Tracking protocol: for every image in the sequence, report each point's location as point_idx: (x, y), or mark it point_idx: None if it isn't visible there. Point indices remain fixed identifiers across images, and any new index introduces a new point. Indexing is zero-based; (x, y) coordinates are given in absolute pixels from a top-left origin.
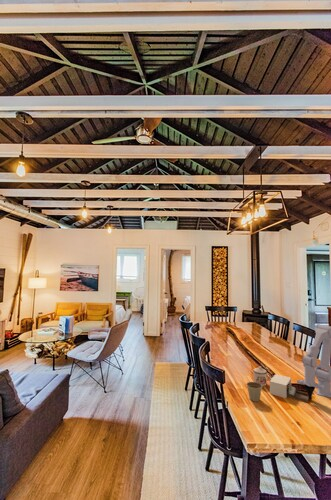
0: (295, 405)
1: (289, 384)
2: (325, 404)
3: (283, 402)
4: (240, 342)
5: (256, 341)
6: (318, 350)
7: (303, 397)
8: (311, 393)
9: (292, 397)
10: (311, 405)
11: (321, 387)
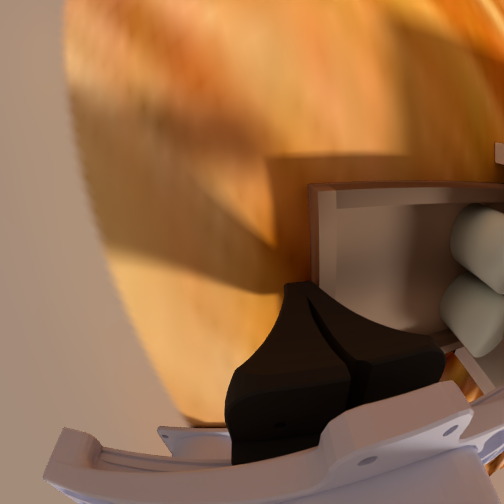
0: (398, 20)
1: (493, 370)
2: (130, 297)
3: (483, 41)
4: (489, 471)
5: None
6: None
7: (371, 290)
8: (285, 322)
9: (468, 183)
10: (247, 138)
11: (73, 467)
